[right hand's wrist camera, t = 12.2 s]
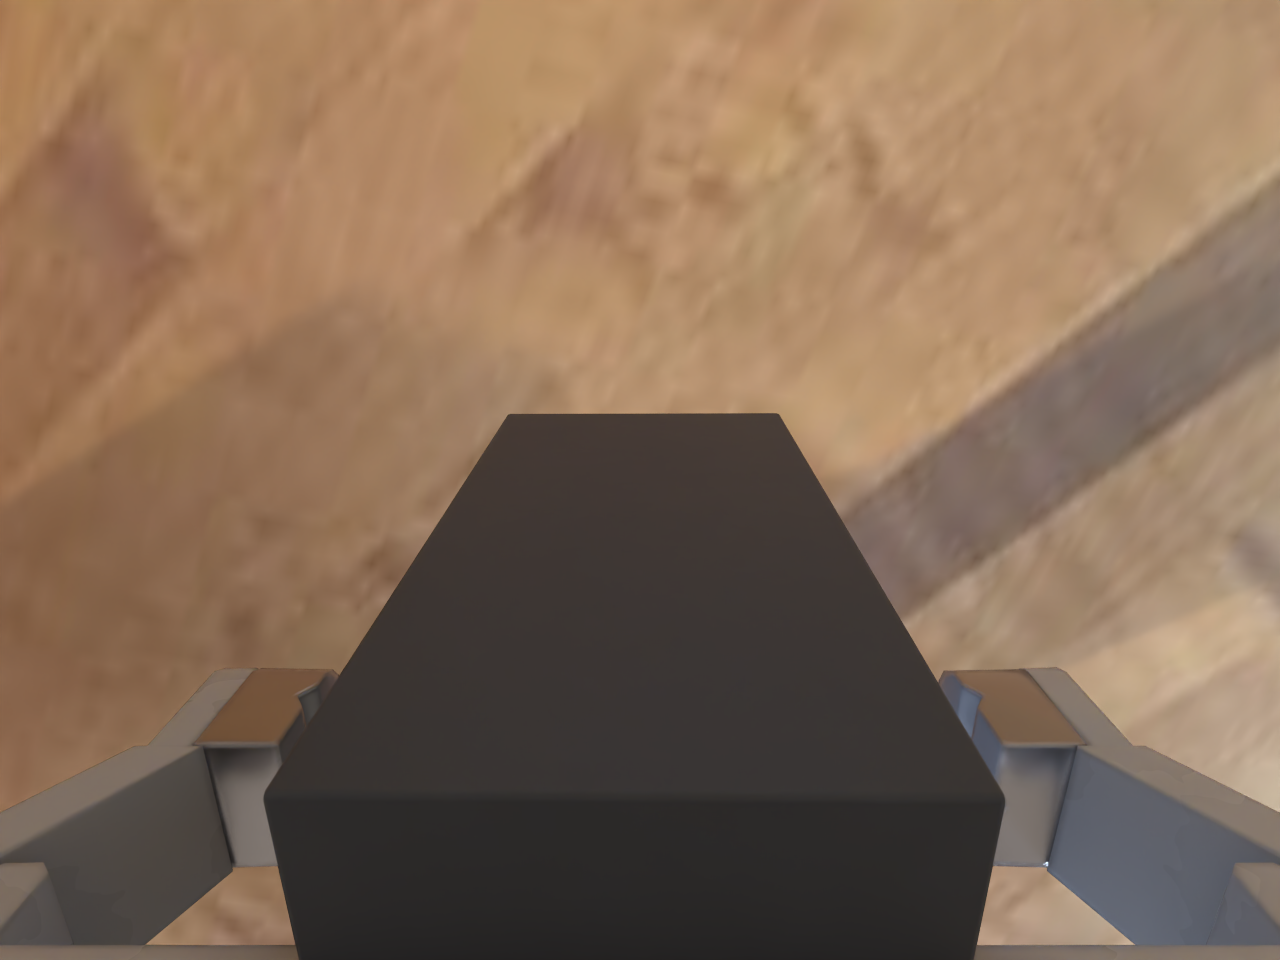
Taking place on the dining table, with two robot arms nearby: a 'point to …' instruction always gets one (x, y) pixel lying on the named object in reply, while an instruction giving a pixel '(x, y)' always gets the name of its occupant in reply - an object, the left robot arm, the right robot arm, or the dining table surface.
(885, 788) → the bar
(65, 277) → the dining table surface
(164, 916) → the right robot arm
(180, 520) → the dining table surface
